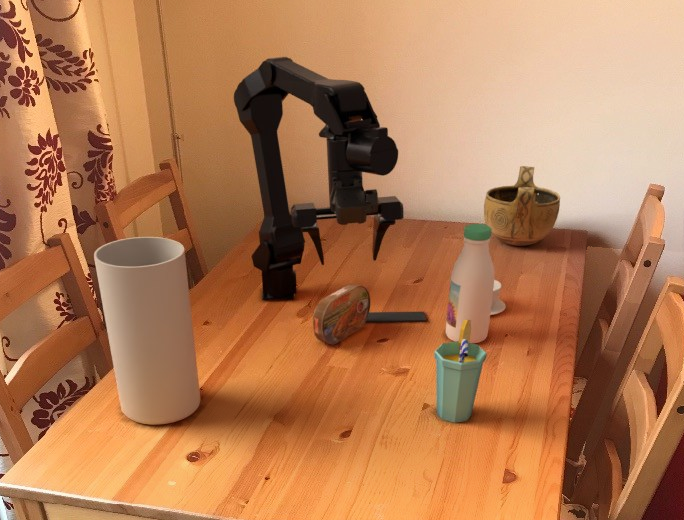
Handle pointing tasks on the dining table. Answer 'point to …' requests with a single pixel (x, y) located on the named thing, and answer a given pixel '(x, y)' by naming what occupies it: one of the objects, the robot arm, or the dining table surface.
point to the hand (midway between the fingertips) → (348, 262)
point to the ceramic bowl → (521, 210)
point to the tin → (341, 313)
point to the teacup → (496, 303)
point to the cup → (458, 376)
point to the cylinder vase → (149, 327)
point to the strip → (395, 317)
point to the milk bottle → (471, 285)
